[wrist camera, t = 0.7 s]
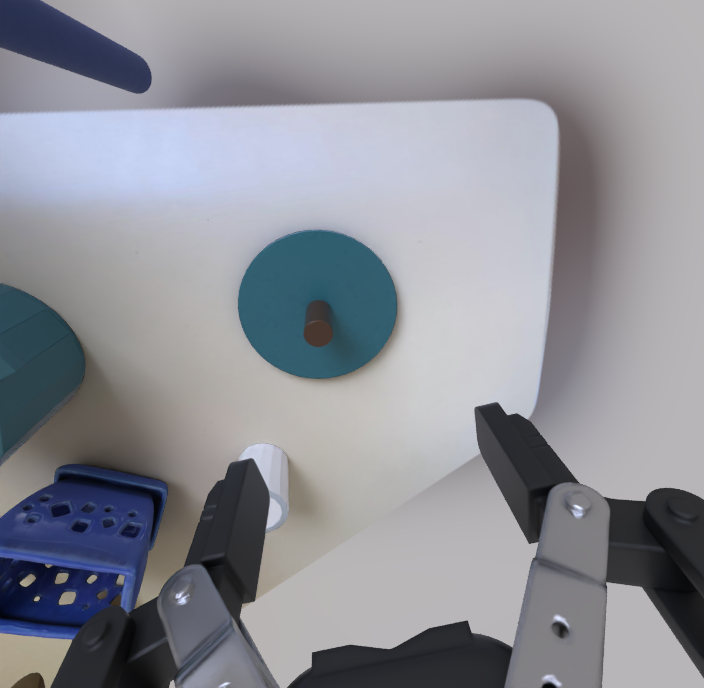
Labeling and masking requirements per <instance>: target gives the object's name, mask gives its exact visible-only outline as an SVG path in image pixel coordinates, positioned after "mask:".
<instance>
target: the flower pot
mask: <svg viewBox="0 0 704 688" xmlns="http://www.w3.org/2000/svg"><path fill="white" fill-rule="evenodd" d="M167 494H168V486H167V485H166V484H165V483H164V482H162V481H160V480H155V479H151V478H146V477H142V476H137V475H132V474H127V473H123V472H118V471H113V470H108V469H103V468H98V467H93V466H87V465H81V464H68V465H63V466H61V467H59V468H57V469H56V471H55V479H54V483H53V484H51V485H49V486H47V487H45V488H43V489H41V490H39V491H37V492H36V493H34V494H32V495H30V496H29V497H27V498H26V499H24V500H23V501H21V502H20V503H19V504H17V505H16V506H15V507H13V508H12V509H11V510H9V511H8V512H7V513H6V514H4V515H3V516H2V517H1V518H0V633H5V634H15V635H23V636H35V637H43V638H56V639H72V640H73V639H74V638H75V636H76V634H77V633H78V631H79V630H80V629H81V628H82V626H83V625H84V624H85V623H86V622H87V621H88V620H89V619H90V618H91V617H92V616H94V615H95V614H96V613H98V612H99V611H101V610H103V609H105V608H107V607H110V606H112V605H111V602H112V601H113V600H114V599H115V598H116V597H117V596H118V595H121V596H122V597H121V607H122V608H124V610H125V611H126V612H127V613H129V612H131V611H132V610H134V608H135V604H136V601H137V597H138V594H139V591H140V587H141V583H142V580H143V576H144V572H145V568H146V563H147V558H148V551H149V550H151V549H152V548H153V546H154V543H155V540H156V536H157V532H158V529H159V525H160V522H161V518H162V514H163V511H164V507H165V503H166V499H167ZM13 560H14V561H13ZM12 561H13V562H12ZM45 564H50V565H53V566H51V567H50V568H47V567H46V566H45ZM58 573H68V574H69V576H68V579H67V581H66V582H65V583H62V584H55V579H56V576H57V574H58ZM29 574H33V575H34V576H35V577H36V579H35V581H34V582H33V583H31V584H30V585H29V586H27V587H24V586H21V585H20V582H21V581H22V580H23V579H24V578H25V577H27V576H28V575H29ZM119 574H121V575H124V576H125V579H124V584H123V586H119V585H116V581H117V579H118V576H119ZM91 575H96V576H97V577H98V578H97V579H96V580H95V581H94V582H93V583H92V584H89V583H87V579H88V578H89V577H90V576H91ZM102 591H107V595H106V597H105V598H103V599H99V598H98V597H97V595H98V594H99V593H100V592H102ZM64 592H75V593H76V597H75V600H74V602H73V603H72V604H67V605H59V600H60V598H61V595H62V594H63V593H64ZM37 596H39V597H40V600H39V601H34V598H35V597H37ZM87 606H89V607H87Z"/></svg>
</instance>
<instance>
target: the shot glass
mask: <svg viewBox="0 0 704 688" xmlns="http://www.w3.org/2000/svg"><path fill="white" fill-rule="evenodd" d="M249 458H252V459H254V461H255V462H256V464H257V466H258V468H259V471H260V473H261V475H262V477H263V479H264V481H265V483H266V485H267V487H268V490H269V496H270V506H269V513H268V519H267V526H266V532H265V533H267V532H270V531H272V530H275V529H277V528H279V527H280V526H281V525H282V524H283V523H284V522H285V521H286V518H287V516H288V513H289V499H288V459H287V455H286V454H285V453H284V452H283V450H282V449H280V448H278V447H276V446H275V445H271V444H265V443H262V444H254V445H252V446H250V447H248V448H246V449H245V450H244V451H243V452H242V454H241V456H240V458H239V460H238V461H241V460H245V459H249Z"/></svg>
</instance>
